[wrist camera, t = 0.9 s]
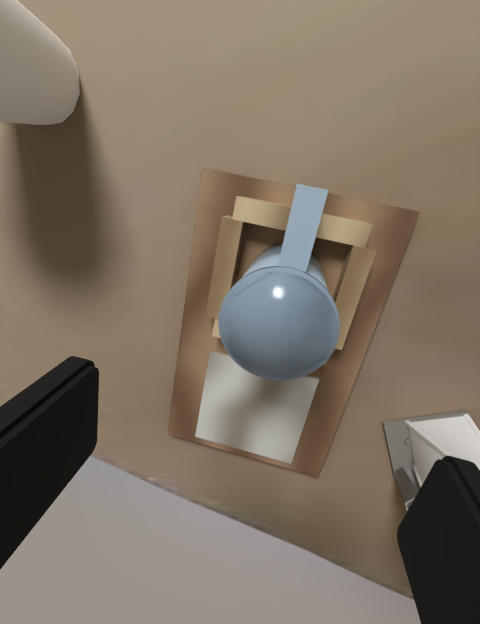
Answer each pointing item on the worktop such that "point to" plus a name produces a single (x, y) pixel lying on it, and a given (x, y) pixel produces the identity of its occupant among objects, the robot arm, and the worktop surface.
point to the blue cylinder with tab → (283, 302)
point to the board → (259, 391)
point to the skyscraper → (428, 446)
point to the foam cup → (34, 70)
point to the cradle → (277, 217)
